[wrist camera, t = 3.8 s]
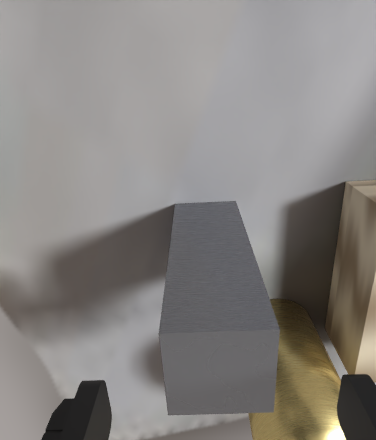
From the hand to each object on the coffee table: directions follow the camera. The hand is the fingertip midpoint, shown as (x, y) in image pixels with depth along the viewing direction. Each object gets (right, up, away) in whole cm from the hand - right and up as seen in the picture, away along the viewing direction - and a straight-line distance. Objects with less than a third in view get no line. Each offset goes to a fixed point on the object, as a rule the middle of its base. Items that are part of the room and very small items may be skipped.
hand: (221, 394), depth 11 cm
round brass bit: (+6, -3, +15) cm, 16 cm away
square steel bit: (0, +5, +11) cm, 13 cm away
